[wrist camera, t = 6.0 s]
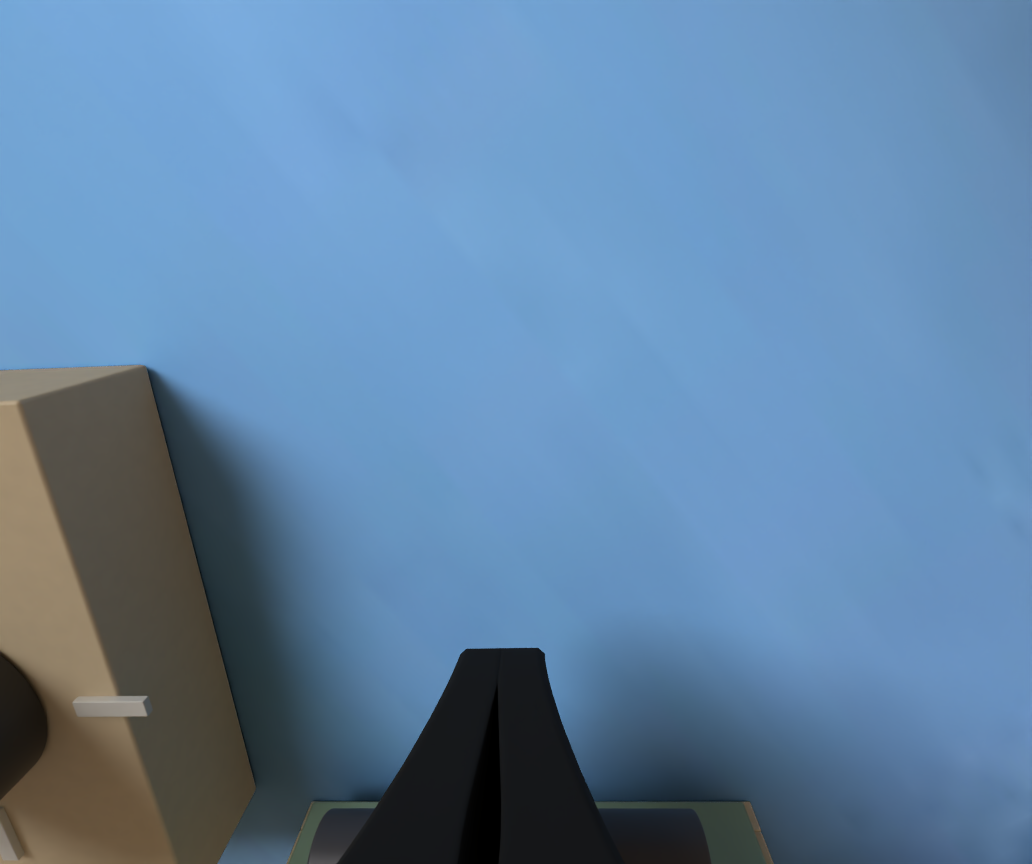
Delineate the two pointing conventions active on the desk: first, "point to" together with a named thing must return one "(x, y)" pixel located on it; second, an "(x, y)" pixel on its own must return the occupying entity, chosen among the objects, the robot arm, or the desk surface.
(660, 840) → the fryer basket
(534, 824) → the robot arm
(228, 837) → the block
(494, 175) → the desk surface
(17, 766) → the timer dial
